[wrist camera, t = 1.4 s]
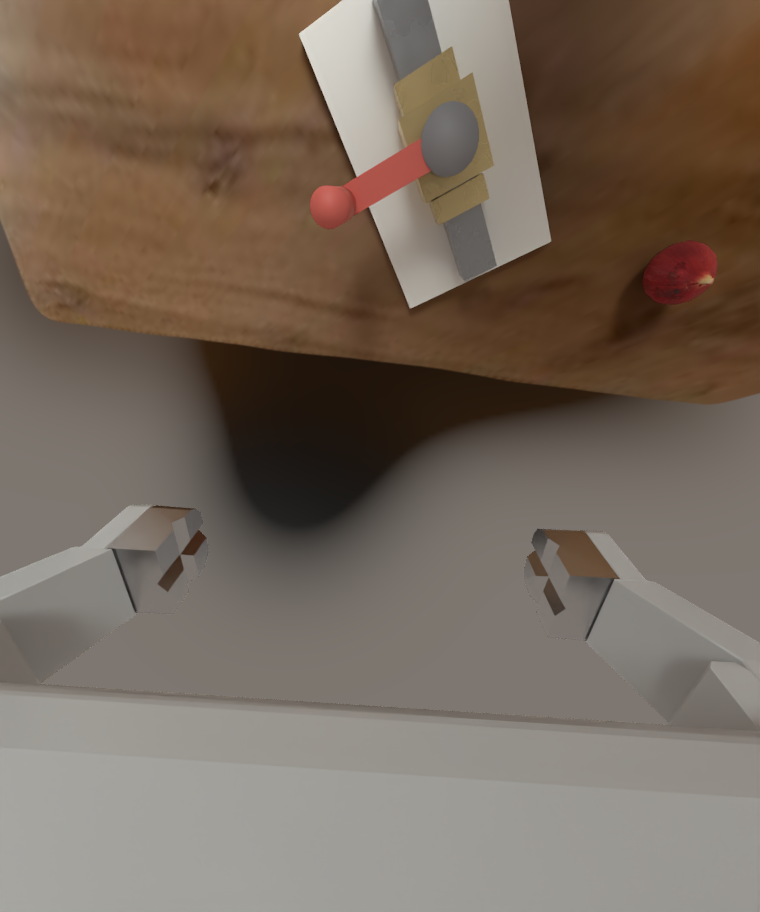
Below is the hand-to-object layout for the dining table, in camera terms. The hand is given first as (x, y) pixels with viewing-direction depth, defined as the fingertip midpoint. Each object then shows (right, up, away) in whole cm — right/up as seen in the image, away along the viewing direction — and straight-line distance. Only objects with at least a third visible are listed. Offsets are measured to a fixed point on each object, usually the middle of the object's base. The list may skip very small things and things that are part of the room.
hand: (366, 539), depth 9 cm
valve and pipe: (+6, +31, +26) cm, 41 cm away
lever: (+2, +26, +21) cm, 33 cm away
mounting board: (+6, +31, +26) cm, 41 cm away
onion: (+31, +23, +32) cm, 50 cm away
